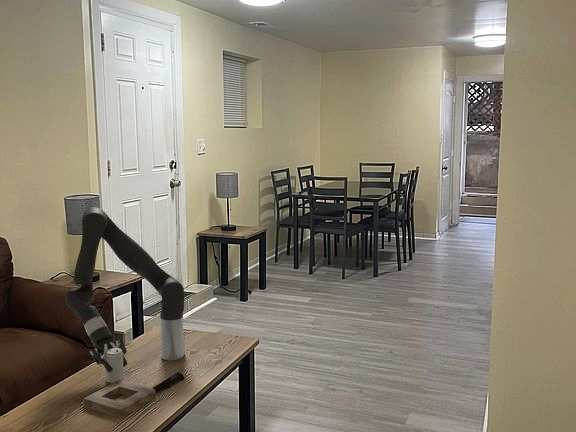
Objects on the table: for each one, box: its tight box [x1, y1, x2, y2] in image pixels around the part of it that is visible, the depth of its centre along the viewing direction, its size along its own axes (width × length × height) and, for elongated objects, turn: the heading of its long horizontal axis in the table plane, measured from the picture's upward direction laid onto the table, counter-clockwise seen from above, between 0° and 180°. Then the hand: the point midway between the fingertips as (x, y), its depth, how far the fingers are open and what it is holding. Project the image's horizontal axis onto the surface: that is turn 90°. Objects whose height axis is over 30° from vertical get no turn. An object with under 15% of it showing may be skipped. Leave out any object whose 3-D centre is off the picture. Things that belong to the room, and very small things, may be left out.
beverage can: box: [105, 347, 125, 384], centre depth 216 cm, size 6×6×12 cm
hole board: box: [82, 380, 156, 419], centre depth 200 cm, size 17×17×3 cm
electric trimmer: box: [152, 372, 185, 393], centre depth 214 cm, size 4×16×3 cm, turn 151°
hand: (118, 368), depth 216 cm, fingers closed on beverage can, 5 cm apart
